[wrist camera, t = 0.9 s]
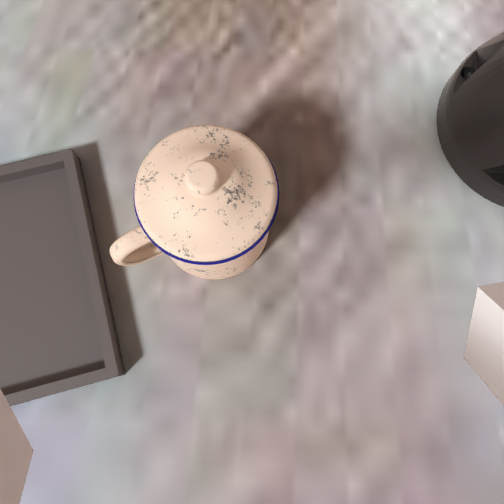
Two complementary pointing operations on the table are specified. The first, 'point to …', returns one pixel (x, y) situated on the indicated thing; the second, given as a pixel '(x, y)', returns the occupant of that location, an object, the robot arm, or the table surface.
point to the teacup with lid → (202, 203)
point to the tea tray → (51, 283)
